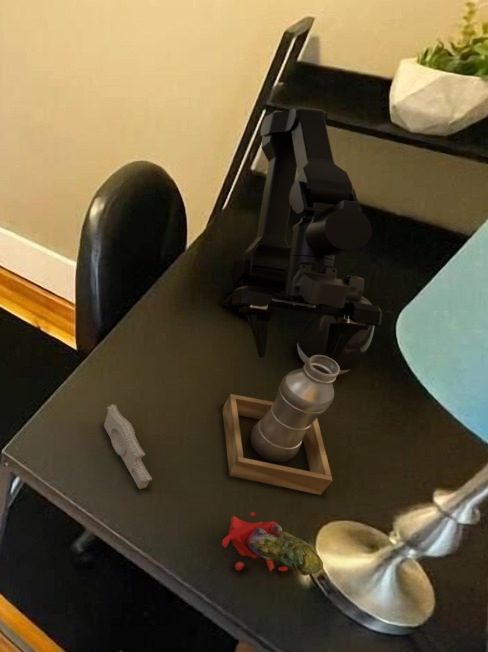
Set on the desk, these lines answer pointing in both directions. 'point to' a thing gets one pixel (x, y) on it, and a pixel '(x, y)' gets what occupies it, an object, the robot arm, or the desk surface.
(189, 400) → the desk surface
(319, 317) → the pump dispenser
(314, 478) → the square wooden frame
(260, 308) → the robot arm
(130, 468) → the garden wall model
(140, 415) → the desk surface
